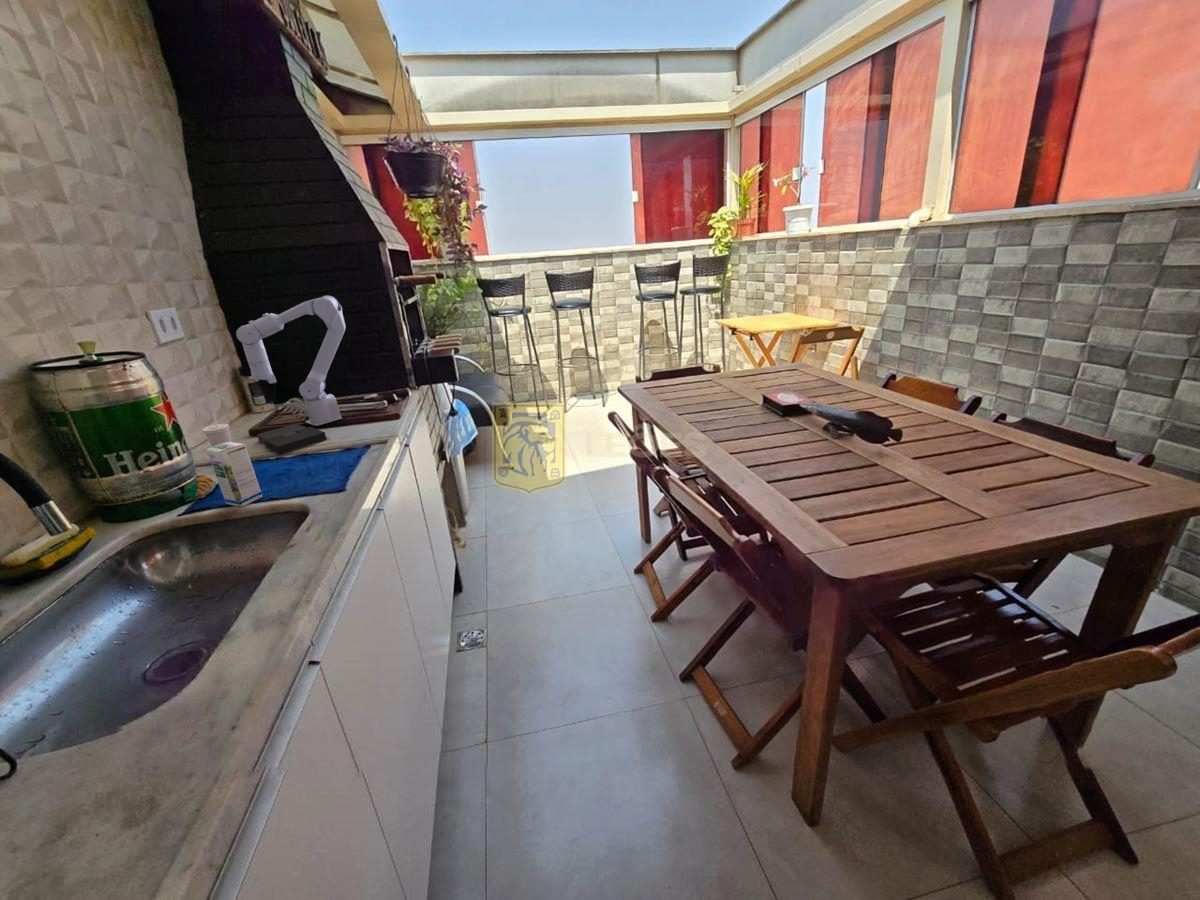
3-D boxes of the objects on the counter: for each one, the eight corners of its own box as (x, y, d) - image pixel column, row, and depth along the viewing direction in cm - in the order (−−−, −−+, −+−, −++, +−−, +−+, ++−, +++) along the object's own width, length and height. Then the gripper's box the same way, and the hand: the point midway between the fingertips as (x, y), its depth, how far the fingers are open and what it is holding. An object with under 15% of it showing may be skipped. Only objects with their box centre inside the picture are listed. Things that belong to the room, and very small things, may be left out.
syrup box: (225, 504, 118) (203, 449, 112) (249, 493, 123) (229, 440, 117) (240, 508, 116) (219, 452, 110) (264, 496, 121) (245, 442, 115)
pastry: (209, 499, 121) (204, 485, 119) (176, 506, 118) (170, 492, 117) (218, 484, 129) (213, 471, 127) (187, 490, 126) (181, 477, 125)
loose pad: (298, 430, 166) (295, 423, 165) (312, 436, 160) (310, 429, 159) (259, 441, 157) (256, 434, 156) (273, 448, 151) (270, 440, 150)
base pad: (312, 433, 162) (310, 426, 161) (326, 439, 157) (324, 432, 156) (266, 447, 152) (263, 440, 151) (280, 454, 146) (277, 446, 146)
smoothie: (229, 461, 143) (212, 416, 137) (208, 462, 143) (190, 417, 138) (244, 452, 149) (229, 409, 143) (224, 453, 149) (207, 409, 144)
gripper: (236, 362, 162) (249, 401, 168) (253, 366, 154) (267, 407, 160) (259, 357, 168) (271, 395, 173) (277, 362, 159) (289, 401, 165)
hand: (271, 401), depth 167 cm, fingers closed
